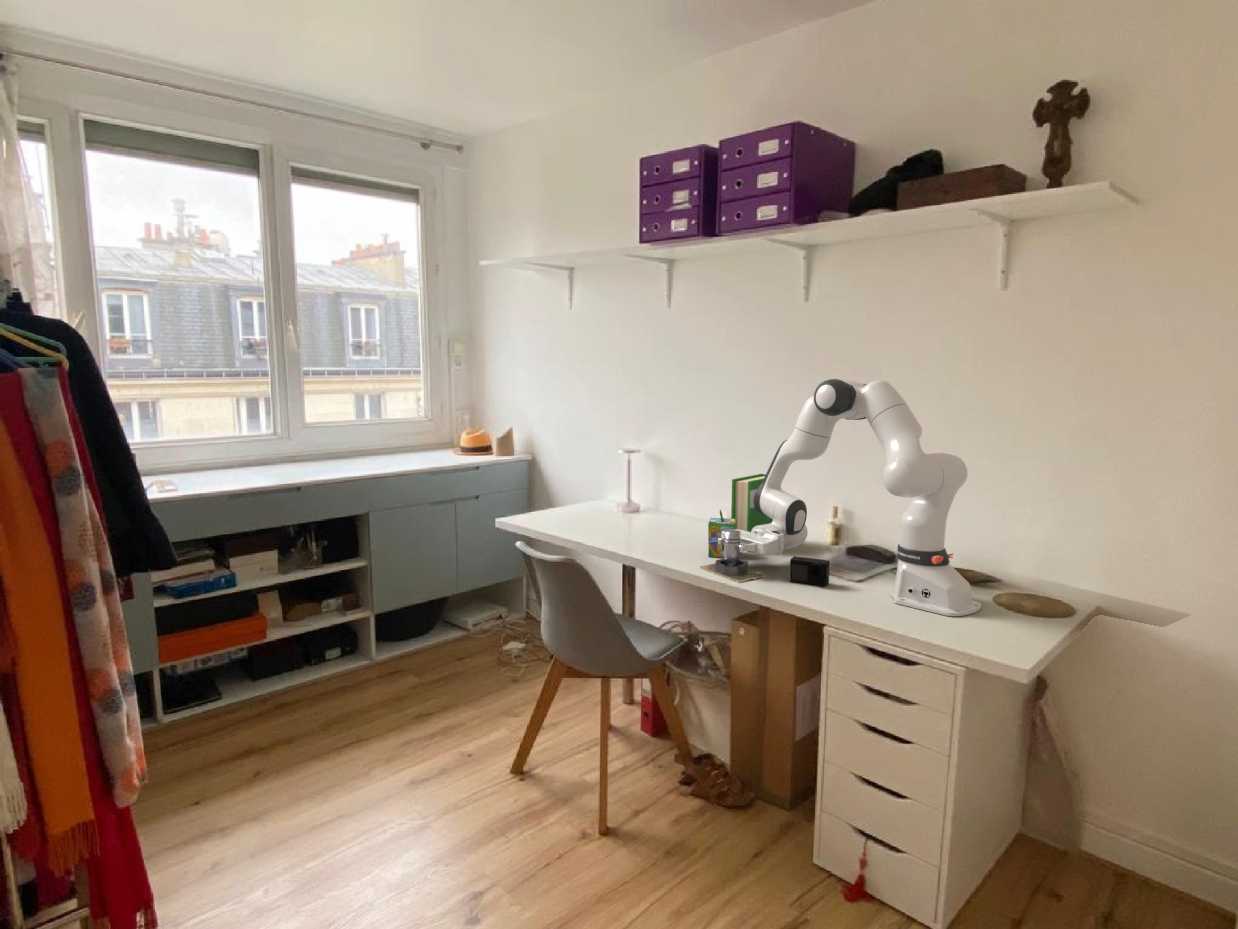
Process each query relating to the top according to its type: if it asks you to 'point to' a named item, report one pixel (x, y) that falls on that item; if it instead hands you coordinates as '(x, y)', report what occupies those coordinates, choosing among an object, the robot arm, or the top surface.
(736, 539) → the piston
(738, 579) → the ring board
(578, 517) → the top surface
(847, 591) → the top surface
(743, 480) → the hardback book
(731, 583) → the top surface
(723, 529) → the chalk box
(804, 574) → the digital camera
